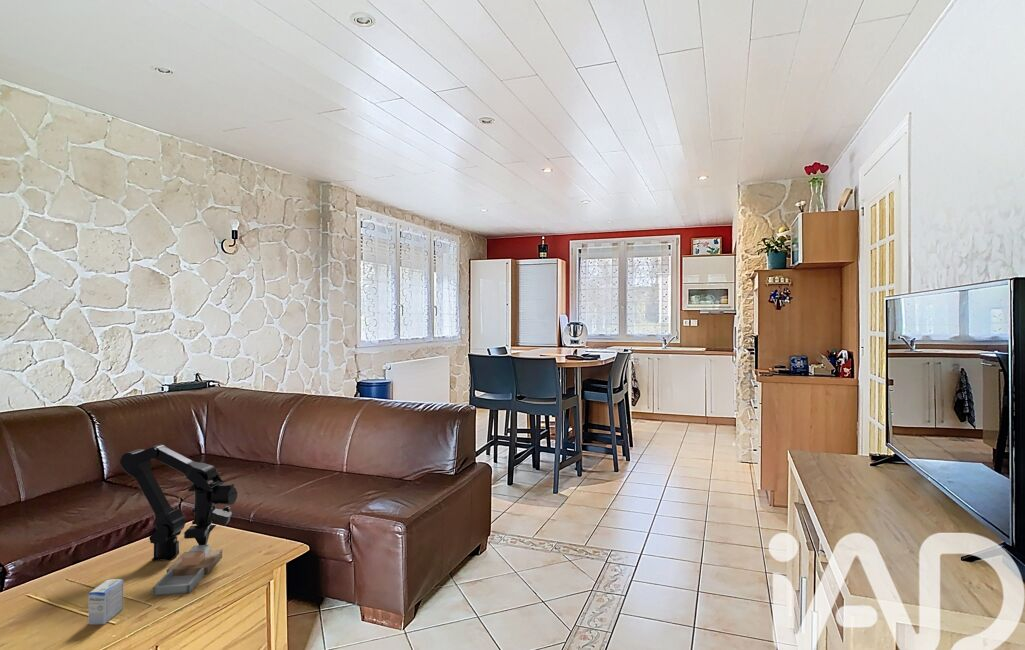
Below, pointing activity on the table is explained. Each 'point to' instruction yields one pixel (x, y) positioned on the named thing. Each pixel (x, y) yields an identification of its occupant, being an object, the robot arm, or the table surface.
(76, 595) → the table surface
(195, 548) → the white block
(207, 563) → the walnut board
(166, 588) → the tray
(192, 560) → the tile terracotta
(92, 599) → the medicine box
